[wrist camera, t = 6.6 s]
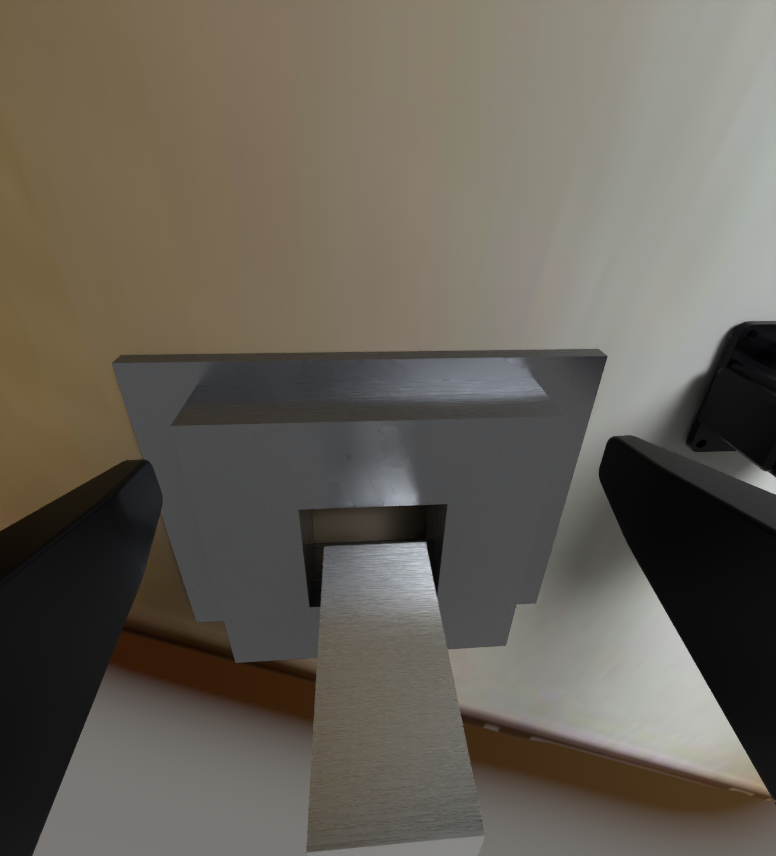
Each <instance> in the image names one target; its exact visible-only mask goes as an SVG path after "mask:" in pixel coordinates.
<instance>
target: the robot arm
mask: <svg viewBox="0 0 776 856" xmlns="http://www.w3.org/2000/svg"><path fill="white" fill-rule="evenodd" d="M748 332H749V334H748V335H747V336H746V337H745V335H746V334H747V333H748ZM698 441H699V442H698ZM686 444H687V446H688V447H689V448H691V449H692V450H693V451H695V452H713V451H738V452H739V453H741V454H742V455H743V456H745V457H746V458H747V459H749V460H750V461H751V462H752V463H754V464H755V465H756V466H758V467H759V468H760V469H762V470H764V471H768V472H769V473H771V474H772V475H773V476H774V477H776V321H748V322H744V323H742V324H740V325H739V326H738V327H737V328H735V330H734V332H733V333H732V336H731V338H730V340H729V343H728V345H727V347H726V350H725V352H724V354H723V357H722V359H721V361H720V363H719V366H718V368H717V370H716V373H715V375H714V377H713V380H712V382H711V384H710V387H709V389H708V391H707V393H706V396H705V398H704V400H703V403H702V405H701V407H700V410H699V412H698V414H697V417H696V419H695V421H694V423H693V426H692V428H691V430H690V433H689V435H688V437H687V440H686ZM599 479H600V482H601V484H602V487H603V489H604V491H605V494H606V496H607V498H608V501H609V503H610V505H611V508H612V510H613V512H614V514H615V517H616V519H617V521H618V524H619V526H620V528H621V531H622V533H623V535H624V537H625V539H626V541H627V543H628V545H629V547H630V549H631V551H632V553H633V555H634V556H635V558H636V560H637V562H638V564H639V565H640V567H641V569H642V571H643V572H644V574H645V576H646V578H647V579H648V581H649V583H650V585H651V586H652V588H653V590H654V592H655V593H656V595H657V597H658V599H659V600H660V602H661V604H662V606H663V607H664V609H665V611H666V613H667V614H668V616H669V618H670V620H671V621H672V623H673V625H674V627H675V628H676V630H677V632H678V634H679V635H680V637H681V639H682V641H683V642H684V644H685V646H686V648H687V649H688V651H689V653H690V655H691V656H692V658H693V660H694V662H695V663H696V665H697V667H698V669H699V670H700V672H701V674H702V676H703V678H704V679H705V681H706V683H707V685H708V686H709V688H710V690H711V692H712V693H713V695H714V697H715V699H716V700H717V702H718V704H719V706H720V707H721V709H722V711H723V713H724V714H725V716H726V718H727V720H728V721H729V723H730V725H731V727H732V728H733V730H734V732H735V734H736V735H737V737H738V739H739V741H740V742H741V744H742V746H743V748H744V749H745V751H746V753H747V755H748V756H749V758H750V760H751V762H752V763H753V765H754V767H755V769H756V770H757V772H758V774H759V776H760V777H761V779H762V781H763V783H764V784H765V786H766V788H767V790H768V792H769V793H770V795H771V797H772V798H773V799H774V800H776V495H775V494H772V493H770V492H768V491H765V490H763V489H760V488H758V487H756V486H753V485H751V484H748V483H746V482H743V481H741V480H739V479H736V478H734V477H731V476H729V475H727V474H724V473H722V472H719V471H717V470H715V469H712V468H710V467H707V466H705V465H702V464H700V463H698V462H695V461H693V460H690V459H688V458H686V457H683V456H681V455H678V454H676V453H673V452H671V451H669V450H666V449H664V448H661V447H659V446H657V445H654V444H652V443H649V442H647V441H645V440H642V439H640V438H637V437H635V436H630V435H627V436H613V437H611V438H610V439H609V440H608V442H607V444H606V448H605V451H604V454H603V458H602V461H601V464H600V468H599ZM162 504H163V496H162V491H161V489H160V486H159V483H158V480H157V477H156V474H155V471H154V468H153V466H152V464H151V463H150V462H149V461H148V460H145V459H143V460H126V461H123V462H121V463H119V464H118V465H116V466H114V467H112V468H111V469H109V470H107V471H105V472H104V473H102V474H100V475H98V476H97V477H95V478H93V479H91V480H90V481H88V482H86V483H84V484H83V485H81V486H79V487H77V488H76V489H74V490H72V491H70V492H68V493H67V494H65V495H63V496H61V497H60V498H58V499H56V500H54V501H53V502H51V503H49V504H47V505H46V506H44V507H42V508H40V509H39V510H37V511H35V512H33V513H32V514H30V515H28V516H26V517H25V518H23V519H21V520H19V521H17V522H16V523H14V524H12V525H10V526H9V527H7V528H5V529H3V530H2V531H0V856H32V855H33V853H34V850H35V847H36V845H37V843H38V840H39V837H40V835H41V832H42V830H43V827H44V825H45V822H46V820H47V817H48V815H49V812H50V809H51V807H52V805H53V802H54V800H55V797H56V795H57V792H58V790H59V787H60V785H61V782H62V780H63V777H64V775H65V772H66V770H67V767H68V764H69V762H70V759H71V757H72V754H73V752H74V749H75V747H76V744H77V742H78V739H79V737H80V734H81V732H82V729H83V727H84V724H85V722H86V719H87V716H88V714H89V712H90V709H91V707H92V704H93V701H94V699H95V697H96V694H97V692H98V689H99V687H100V684H101V682H102V679H103V676H104V674H105V671H106V669H107V666H108V664H109V661H110V659H111V656H112V654H113V651H114V649H115V646H116V644H117V641H118V639H119V636H120V634H121V631H122V629H123V626H124V624H125V621H126V619H127V616H128V614H129V611H130V609H131V606H132V603H133V601H134V598H135V596H136V593H137V591H138V588H139V586H140V583H141V580H142V578H143V575H144V571H145V568H146V565H147V561H148V557H149V554H150V550H151V546H152V542H153V539H154V535H155V531H156V527H157V523H158V520H159V516H160V512H161V508H162ZM775 804H776V802H775Z"/></svg>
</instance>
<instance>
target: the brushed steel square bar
mask: <svg viewBox="0 0 776 856" xmlns="http://www.w3.org/2000/svg"><path fill="white" fill-rule="evenodd" d="M312 744H313V745H312V761H311V778H310V796H309V812H308V829H307V846H306V855H307V856H478V855H479V852H480V849H481V846H482V843H483V840H484V837H485V832H484V827H483V823H482V818H481V813H480V808H479V803H478V798H477V793H476V788H475V783H474V778H473V773H472V768H471V763H470V758H469V754H468V749H467V744H466V739H465V734H464V729H463V724H462V719H461V714H460V709H459V704H458V699H457V694H456V689H455V684H454V679H453V674H452V669H451V665H450V660H449V655H448V650H447V645H446V640H445V635H444V630H443V625H442V620H441V615H440V610H439V605H438V600H437V595H436V590H435V586H434V581H433V576H432V571H431V566H430V561H429V556H428V551H427V546H426V542H412V543H390V544H368V545H346V546H324V555H323V572H322V589H321V607H320V624H319V641H318V658H317V675H316V692H315V710H314V727H313V743H312Z"/></svg>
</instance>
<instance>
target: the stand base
mask: <svg viewBox="0 0 776 856" xmlns="http://www.w3.org/2000/svg"><path fill="white" fill-rule="evenodd" d="M606 360H607V355H605V354H604V353H603V352H602V351H600V350H599V349H566V350H489V351H412V352H336V353H259V354H182V355H120V356H119V357H118V358H117V359H116V360H115V361H114V362H113V363H112V365H113V368H114V371H115V374H116V377H117V381H118V384H119V387H120V390H121V393H122V396H123V399H124V402H125V405H126V408H127V411H128V414H129V417H130V420H131V423H132V426H133V429H134V433H135V436H136V439H137V442H138V445H139V448H140V451H141V454H142V457H143V459H145V460H148V461H149V462H150V463H151V464H152V466H153V468H154V471H155V474H156V477H157V480H158V483H159V486H160V489H161V491H162V496H163V504H162V508H161V515H162V518H163V521H164V524H165V527H166V530H167V533H168V537H169V540H170V543H171V546H172V549H173V552H174V555H175V558H176V561H177V564H178V567H179V570H180V573H181V576H182V579H183V582H184V586H185V589H186V592H187V595H188V598H189V601H190V604H191V607H192V610H193V613H194V616H195V619H196V622H213V621H224V623H225V627H226V630H227V634H228V637H229V641H230V645H231V648H232V652H233V656H234V659H235V663H241V662H256V661H272V660H288V659H303V658H318V641H319V624H320V607H321V589H322V572H323V555H324V546H346V545H368V544H390V543H412V542H426V546H427V551H428V556H429V561H430V566H431V571H432V576H433V581H434V586H435V590H436V595H437V600H438V605H439V610H440V615H441V620H442V625H443V630H444V635H445V640H446V645H447V649H460V648H476V647H491V646H506V643H507V639H508V635H509V631H510V627H511V624H512V620H513V616H514V612H515V608H516V604H530V603H536V601H537V597H538V594H539V590H540V587H541V583H542V580H543V576H544V573H545V570H546V566H547V563H548V559H549V556H550V552H551V549H552V545H553V542H554V539H555V535H556V532H557V528H558V525H559V521H560V518H561V515H562V511H563V508H564V504H565V501H566V497H567V494H568V490H569V487H570V484H571V480H572V477H573V473H574V470H575V466H576V463H577V459H578V456H579V453H580V449H581V446H582V442H583V439H584V435H585V432H586V429H587V425H588V422H589V418H590V415H591V411H592V408H593V404H594V401H595V398H596V394H597V391H598V387H599V384H600V380H601V377H602V373H603V370H604V367H605V363H606ZM408 505H427V514H426V526H425V538H424V539H413V540H390V541H368V542H346V543H323V544H315V541H314V531H313V520H312V509H331V508H357V507H383V506H408Z"/></svg>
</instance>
